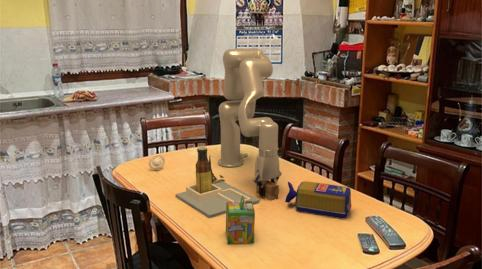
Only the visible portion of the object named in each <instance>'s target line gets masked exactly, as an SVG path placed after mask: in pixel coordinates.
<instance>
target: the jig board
mask: <svg viewBox="0 0 482 269" xmlns="http://www.w3.org/2000/svg"><path fill="white" fill-rule="evenodd" d="M242 195H243V197H244V201H252V203H253V205H255V204H259V203H260V199H259V198H257V197H256V196H255V197H254V196H253V195H252V194H249V193H247V192H245V191H243V190H241V189H239V188H237V187H235V186H233V185H231V184H229V183H227V182H226V181H225V182H220V183H216V184H212V191H209V192H206V193H202V194H200V193H198V192H197V186H196V184H192V185H188V186H186V187H185V191H182V192H179V193H175V198H176V199H178V200H179V201H182V202H183V203H184V204H186V205H188V206H190V208H193V210H196V211H198V212H199V213H200V214H202V215H204V216H205V217H207V218H208V219H211V218H215V217H218V216H221V215H224V214H225V215H226V202H240V201H241V198H242Z"/></svg>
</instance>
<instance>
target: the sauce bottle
mask: <svg viewBox="0 0 482 269" xmlns="http://www.w3.org/2000/svg"><path fill="white" fill-rule="evenodd" d="M196 153H197V161H196V163H195V182H196V186H197V192H198V193H200V194H202V193H206V192H209V191H212V179H211V169H212V166H211V167H210V164H209V157H208V148H207V147H205V146H199V147H197V149H196Z"/></svg>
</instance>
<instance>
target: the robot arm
mask: <svg viewBox="0 0 482 269" xmlns="http://www.w3.org/2000/svg"><path fill="white" fill-rule="evenodd" d="M222 64H223V66H224V67H223V68H224V80H223V97H224V98H225V99H226V101H223V102H221V103H220V104H219V106H218V114H219V122H220V159H219V160H217V165H219V166H221V167H224V168H238V167H241V166H242V165H243V164H244V160H243V159H246V158H248V153H243V152H241V134H242V135H243V136H244V137H247V138H251V137H258V155H257V156H256V159H255V163H254V164H255V167H254V177H253V179H252V182H253V183H254V184H255V185H256V184H257V186H259V194H258V196H261V197H262V198H264V196H265V188H264V184H265V181H266V180H269V181H271V182H273V183H275V184H277V185H278V181H279V179H280V178H281V176H282V174H283V173H282V171H281V170H280V159H279V154H278V151H279V149H280V148H279V147H278V142H279V140H278V139H279V125H278V123H276V122H275V121H274V120H273V119H272V118H271V117H268V116H264V117H263V116H262V117H254V116H255V112H256V111H255V110H256V103H257V100H258V99H260V98H262V97H263V96H264V94H265V88H264V85H263V79H265V78H271V76H272V75H273V72H274V67H273V63H272V62H271V59H270V58H269V57H268V56H267V54H266V53H264V51H263V50H262V49H260V48H230V49H226V50H225V51H224V52H223V56H222ZM236 121H238V124H237V122H236ZM258 179H259V180H258ZM261 181H262V184H261Z"/></svg>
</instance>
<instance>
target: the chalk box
mask: <svg viewBox="0 0 482 269" xmlns="http://www.w3.org/2000/svg"><path fill="white" fill-rule="evenodd" d="M255 219H256V213H255V207H254V204H253V203H252V201H244V197H243V195H242V198H241V201H240V202H226V213H225V235H226V242H227V245H234V244H235V245H237V244H238V245H239V244H241V245H242V244H255V225H256V224H255Z"/></svg>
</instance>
